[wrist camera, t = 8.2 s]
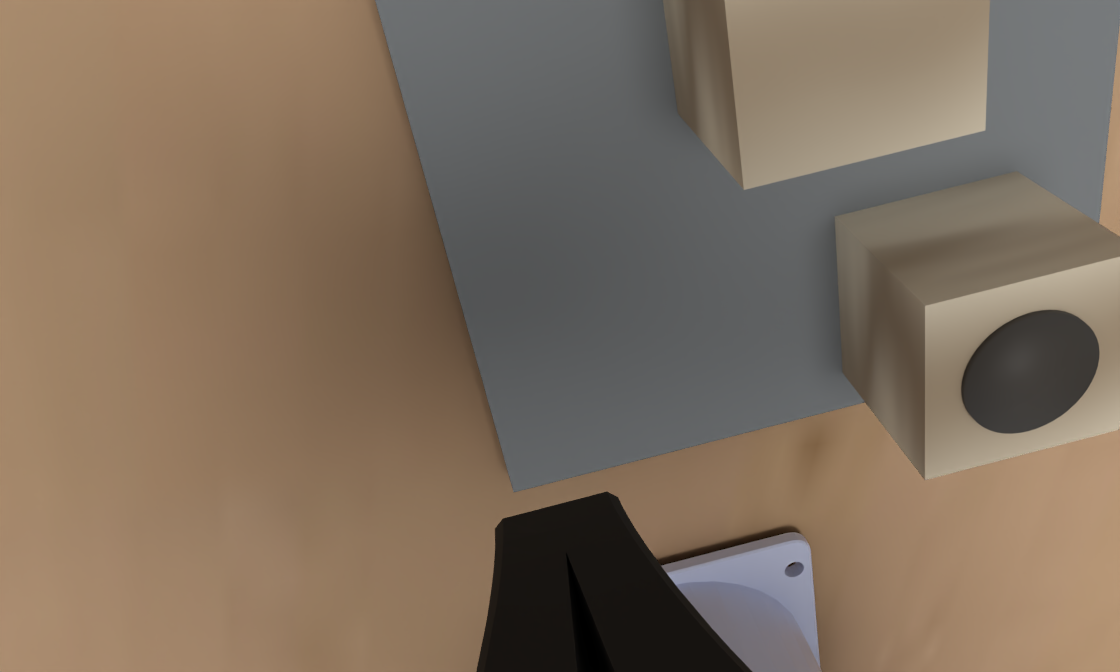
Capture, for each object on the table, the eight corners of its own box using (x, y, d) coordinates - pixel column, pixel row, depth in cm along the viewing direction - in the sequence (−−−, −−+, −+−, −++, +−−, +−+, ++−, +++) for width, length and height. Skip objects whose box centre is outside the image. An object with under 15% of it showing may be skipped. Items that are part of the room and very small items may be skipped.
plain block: (876, 65, 19) (984, 130, 16) (678, 113, 19) (743, 189, 16) (871, -161, 17) (995, -142, 14) (648, -109, 17) (716, -77, 14)
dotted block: (1008, 330, 23) (1124, 434, 19) (842, 372, 23) (928, 484, 19) (1016, 170, 21) (1147, 254, 17) (834, 216, 21) (929, 310, 17)
